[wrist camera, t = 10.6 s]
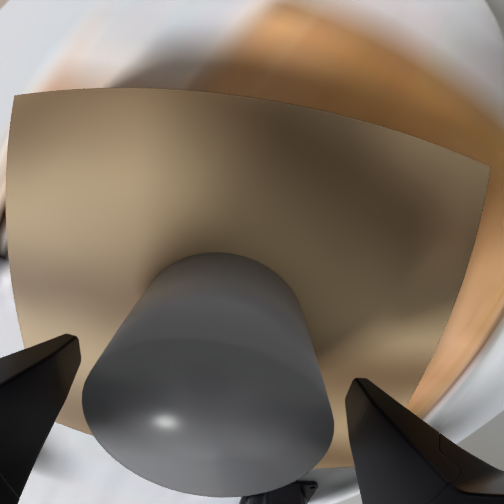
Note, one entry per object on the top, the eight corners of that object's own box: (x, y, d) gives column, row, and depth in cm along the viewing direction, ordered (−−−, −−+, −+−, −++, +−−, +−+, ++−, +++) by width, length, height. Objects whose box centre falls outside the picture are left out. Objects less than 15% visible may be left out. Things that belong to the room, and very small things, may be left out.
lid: (365, 457, 15) (368, 465, 14) (51, 412, 14) (46, 418, 13) (481, 165, 10) (490, 167, 9) (23, 97, 9) (14, 95, 8)
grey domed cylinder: (304, 387, 12) (325, 489, 7) (159, 394, 12) (130, 489, 7) (301, 244, 10) (343, 324, 5) (122, 260, 10) (44, 336, 5)
